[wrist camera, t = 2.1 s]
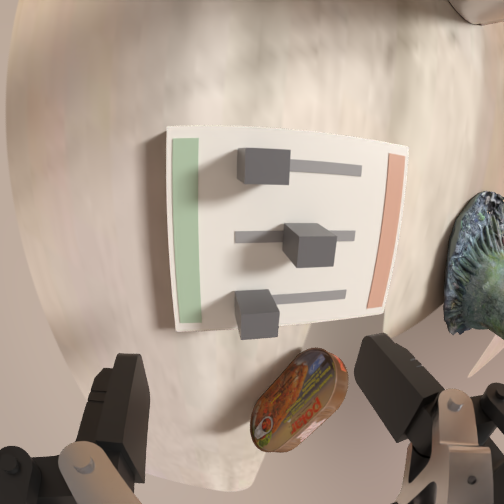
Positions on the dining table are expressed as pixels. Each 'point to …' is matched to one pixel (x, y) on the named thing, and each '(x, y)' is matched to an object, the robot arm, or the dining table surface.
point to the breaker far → (256, 314)
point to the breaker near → (263, 166)
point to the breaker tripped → (309, 245)
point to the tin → (299, 401)
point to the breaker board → (280, 223)
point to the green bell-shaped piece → (476, 267)
